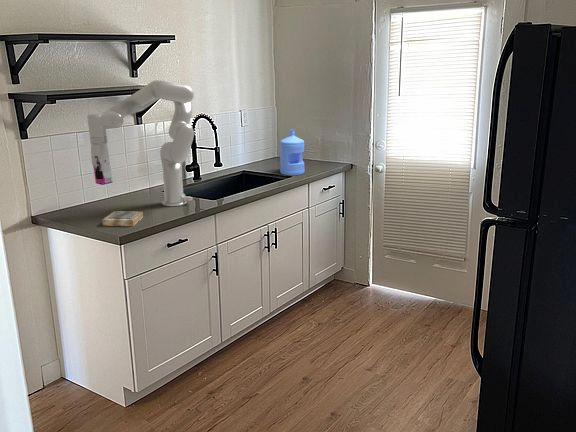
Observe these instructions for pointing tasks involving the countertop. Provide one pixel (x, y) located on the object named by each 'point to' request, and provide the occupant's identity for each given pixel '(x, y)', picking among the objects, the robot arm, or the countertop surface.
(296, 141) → the water jug
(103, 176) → the supplement box
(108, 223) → the square wooden tray
